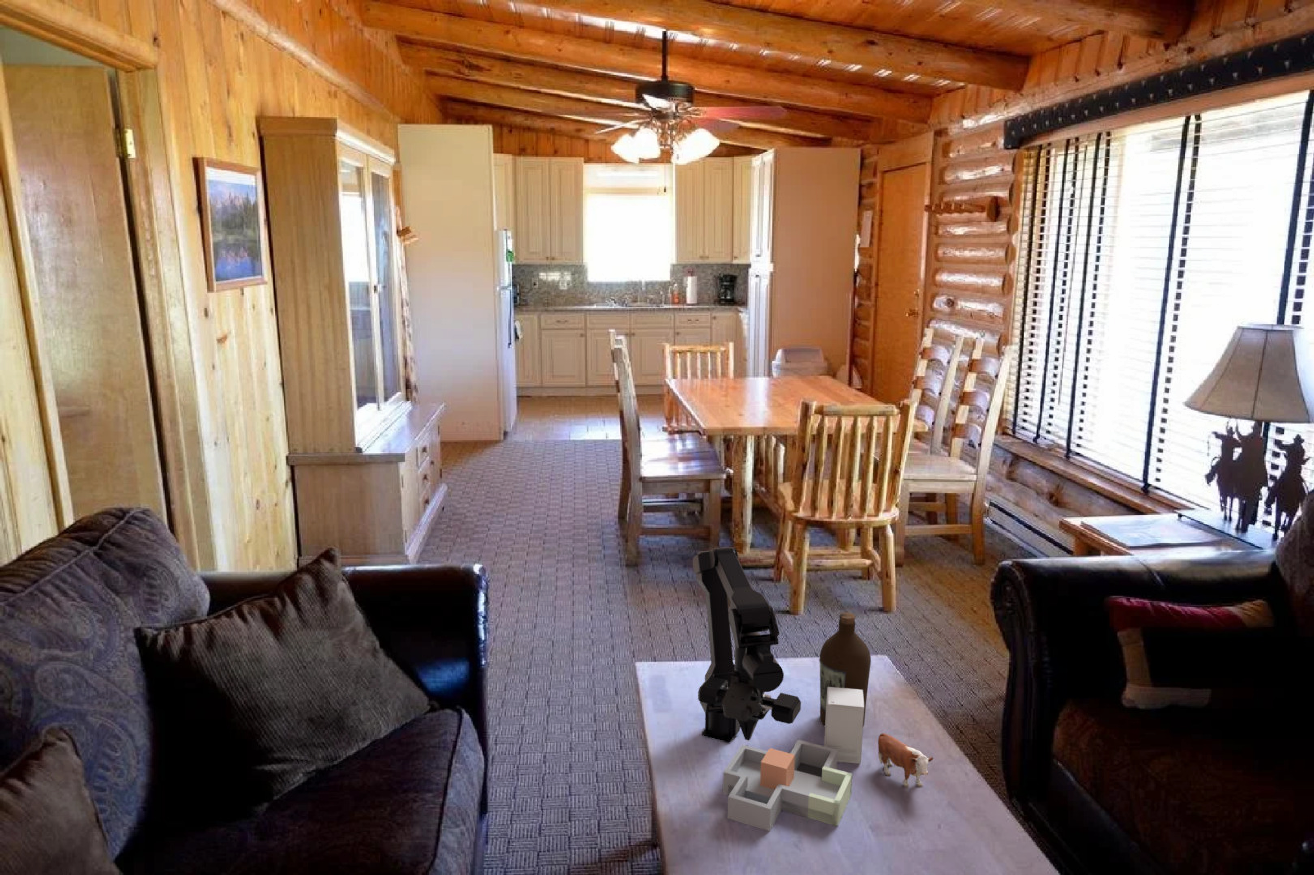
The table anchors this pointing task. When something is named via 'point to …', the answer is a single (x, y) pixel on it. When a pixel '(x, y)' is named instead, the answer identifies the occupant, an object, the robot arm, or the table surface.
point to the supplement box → (844, 723)
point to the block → (777, 769)
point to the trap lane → (808, 795)
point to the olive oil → (844, 662)
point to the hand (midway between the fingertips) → (747, 739)
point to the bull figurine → (902, 758)
